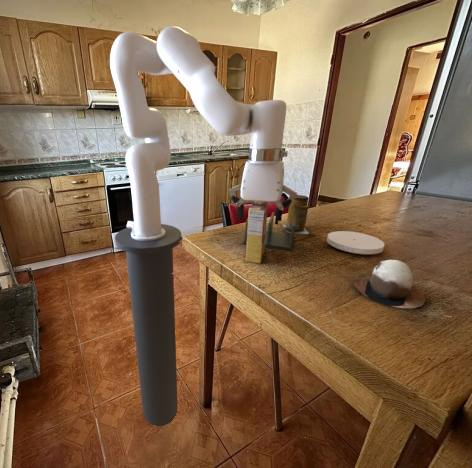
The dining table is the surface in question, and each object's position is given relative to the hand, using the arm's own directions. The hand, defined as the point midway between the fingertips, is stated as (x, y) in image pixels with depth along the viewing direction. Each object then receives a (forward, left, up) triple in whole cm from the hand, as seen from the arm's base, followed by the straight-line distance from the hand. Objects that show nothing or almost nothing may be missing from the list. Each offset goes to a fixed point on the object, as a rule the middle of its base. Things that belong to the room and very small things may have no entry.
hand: (258, 221), depth 70 cm
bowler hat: (+29, -7, -11) cm, 32 cm away
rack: (+2, +14, -11) cm, 17 cm away
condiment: (+10, +27, -11) cm, 31 cm away
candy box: (0, 0, -11) cm, 11 cm away
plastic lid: (+26, +17, -11) cm, 33 cm away
